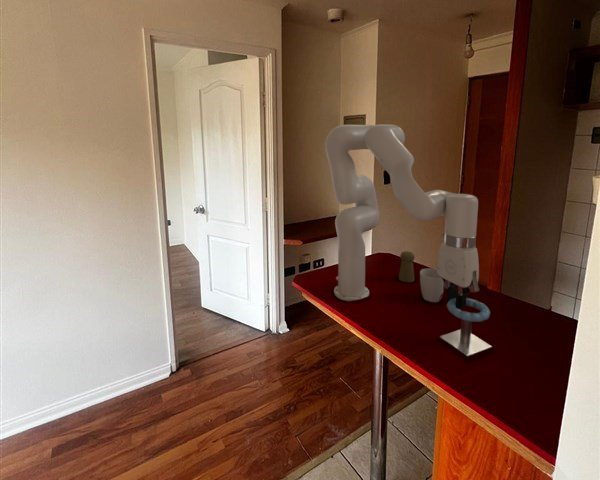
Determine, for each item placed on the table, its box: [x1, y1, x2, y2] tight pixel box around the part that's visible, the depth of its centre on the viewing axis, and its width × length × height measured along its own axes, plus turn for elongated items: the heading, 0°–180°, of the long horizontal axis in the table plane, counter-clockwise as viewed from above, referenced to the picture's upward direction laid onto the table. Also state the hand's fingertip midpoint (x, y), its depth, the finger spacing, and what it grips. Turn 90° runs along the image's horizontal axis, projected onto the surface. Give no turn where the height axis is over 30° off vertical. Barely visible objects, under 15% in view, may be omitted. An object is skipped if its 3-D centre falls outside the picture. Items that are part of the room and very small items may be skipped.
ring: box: [446, 297, 491, 323], centre depth 86 cm, size 10×10×2 cm
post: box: [439, 310, 493, 358], centre depth 87 cm, size 9×9×9 cm
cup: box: [419, 267, 445, 303], centre depth 110 cm, size 8×8×10 cm
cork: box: [398, 250, 416, 283], centre depth 127 cm, size 6×6×11 cm
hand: (455, 304), depth 89 cm, fingers closed on ring, 2 cm apart
